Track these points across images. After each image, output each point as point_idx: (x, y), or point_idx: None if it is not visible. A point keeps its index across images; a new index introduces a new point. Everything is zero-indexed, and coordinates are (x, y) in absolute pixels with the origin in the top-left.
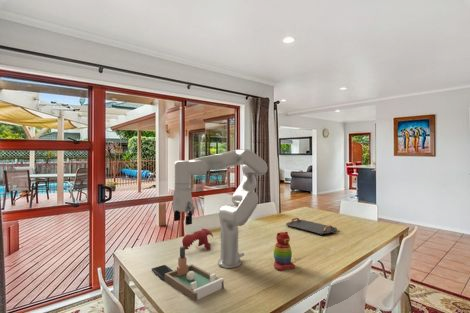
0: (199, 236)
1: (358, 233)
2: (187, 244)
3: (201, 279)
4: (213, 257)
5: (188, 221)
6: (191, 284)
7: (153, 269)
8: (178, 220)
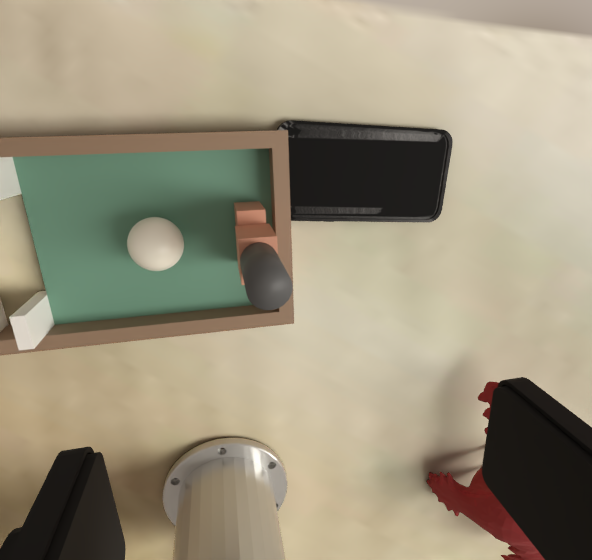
0: None
1: None
2: None
3: (128, 287)
4: (340, 458)
5: (4, 555)
6: None
7: (436, 140)
8: (488, 446)
